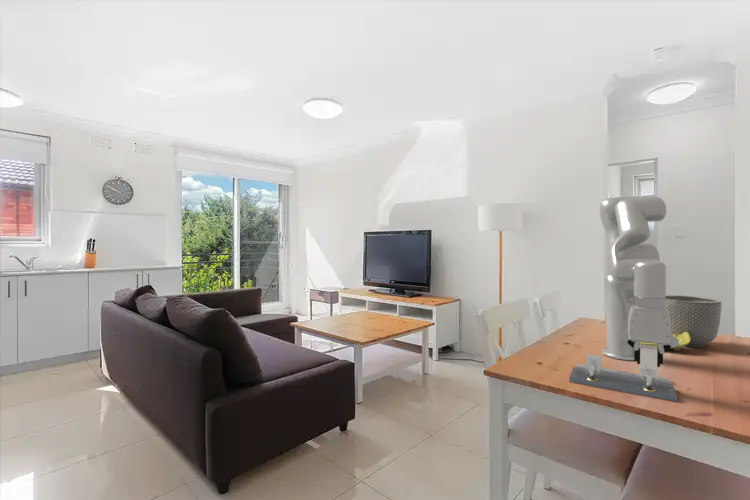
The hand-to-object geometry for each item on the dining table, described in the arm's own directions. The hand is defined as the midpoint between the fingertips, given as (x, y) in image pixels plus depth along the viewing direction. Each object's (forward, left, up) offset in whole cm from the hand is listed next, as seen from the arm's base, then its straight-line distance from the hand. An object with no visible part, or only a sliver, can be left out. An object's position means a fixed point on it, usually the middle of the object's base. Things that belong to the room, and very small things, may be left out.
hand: (648, 363), depth 109 cm
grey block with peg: (+1, +2, -5) cm, 6 cm away
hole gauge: (+7, -3, -7) cm, 10 cm away
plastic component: (-38, -34, -8) cm, 52 cm away
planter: (-54, -36, -7) cm, 66 cm away
